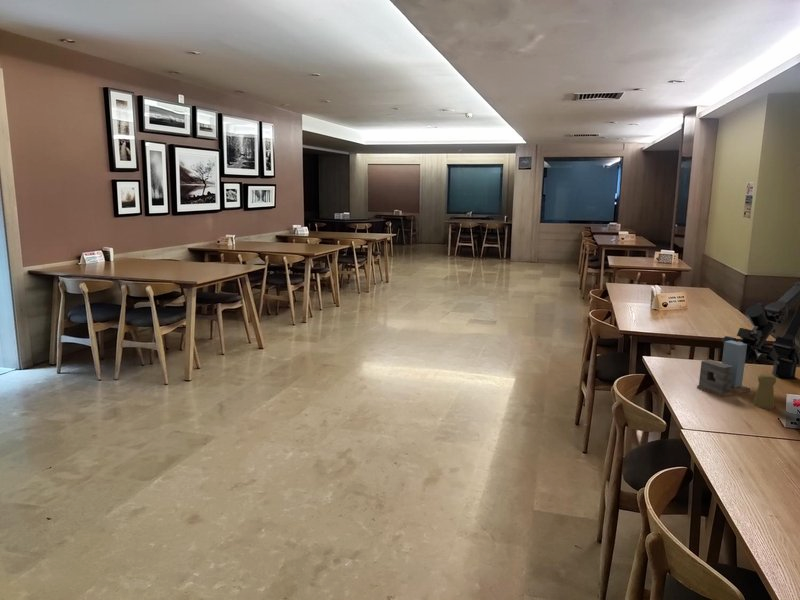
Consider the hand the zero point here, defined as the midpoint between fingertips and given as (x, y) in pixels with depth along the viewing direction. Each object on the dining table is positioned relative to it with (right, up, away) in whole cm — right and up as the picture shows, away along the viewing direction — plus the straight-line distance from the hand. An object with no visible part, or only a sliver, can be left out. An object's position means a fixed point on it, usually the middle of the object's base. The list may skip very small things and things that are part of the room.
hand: (736, 365), depth 211 cm
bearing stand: (-6, -9, -1) cm, 10 cm away
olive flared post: (-1, -12, -16) cm, 20 cm away
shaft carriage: (-5, -7, -1) cm, 9 cm away
